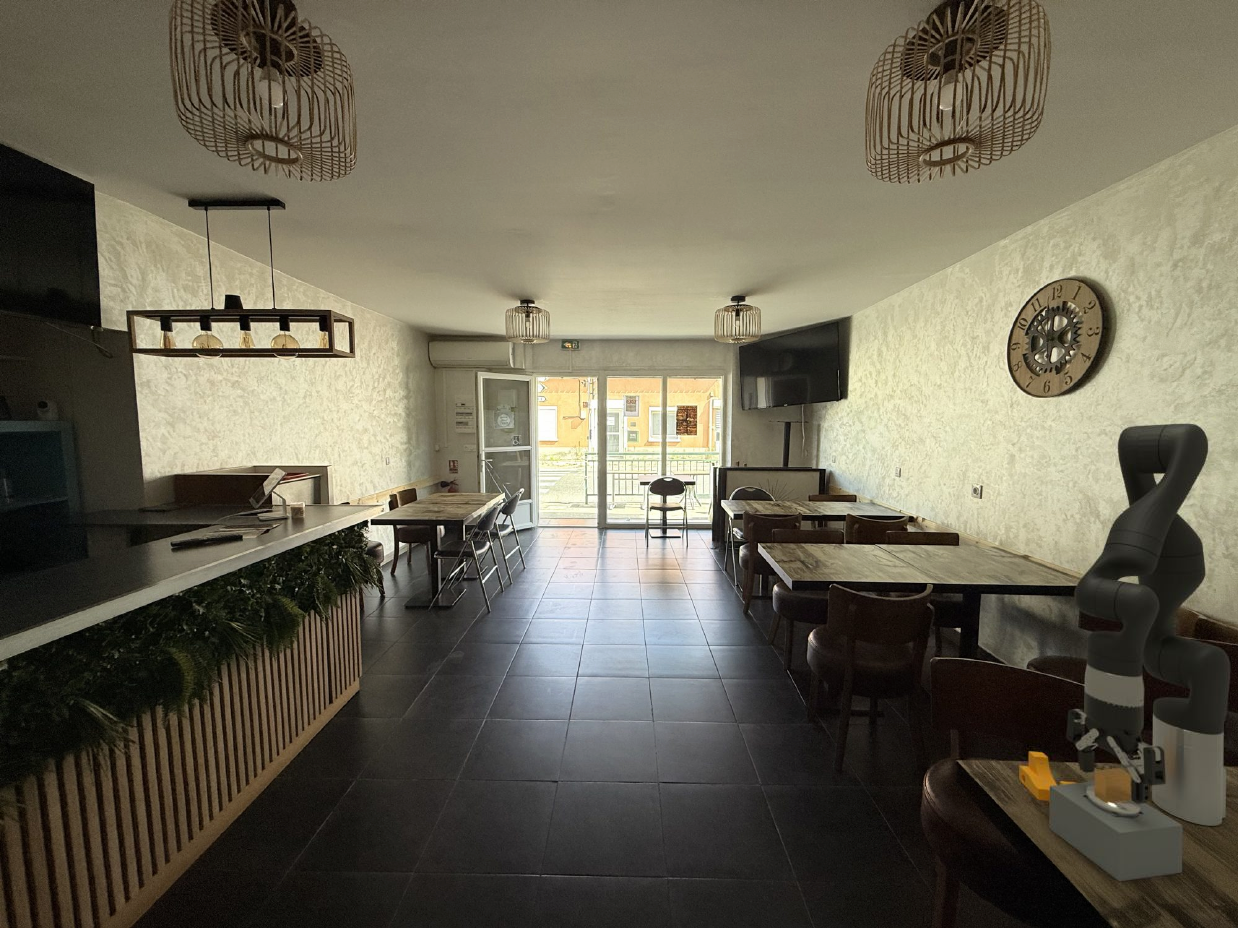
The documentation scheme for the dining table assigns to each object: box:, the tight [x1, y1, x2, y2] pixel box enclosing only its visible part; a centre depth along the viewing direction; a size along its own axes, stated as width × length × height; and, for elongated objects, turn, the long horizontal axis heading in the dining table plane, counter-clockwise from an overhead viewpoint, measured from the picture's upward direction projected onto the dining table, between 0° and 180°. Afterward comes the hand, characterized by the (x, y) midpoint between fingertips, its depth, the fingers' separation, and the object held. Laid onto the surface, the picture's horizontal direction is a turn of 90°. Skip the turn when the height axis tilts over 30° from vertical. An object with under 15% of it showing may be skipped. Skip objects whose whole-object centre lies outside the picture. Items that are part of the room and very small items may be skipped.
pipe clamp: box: [1018, 751, 1076, 802], centre depth 105 cm, size 12×4×6 cm, turn 170°
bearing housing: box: [1048, 780, 1184, 882], centre depth 91 cm, size 12×12×8 cm
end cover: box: [1086, 767, 1140, 817], centre depth 91 cm, size 7×7×9 cm
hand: (1111, 785), depth 91 cm, fingers open, 8 cm apart
